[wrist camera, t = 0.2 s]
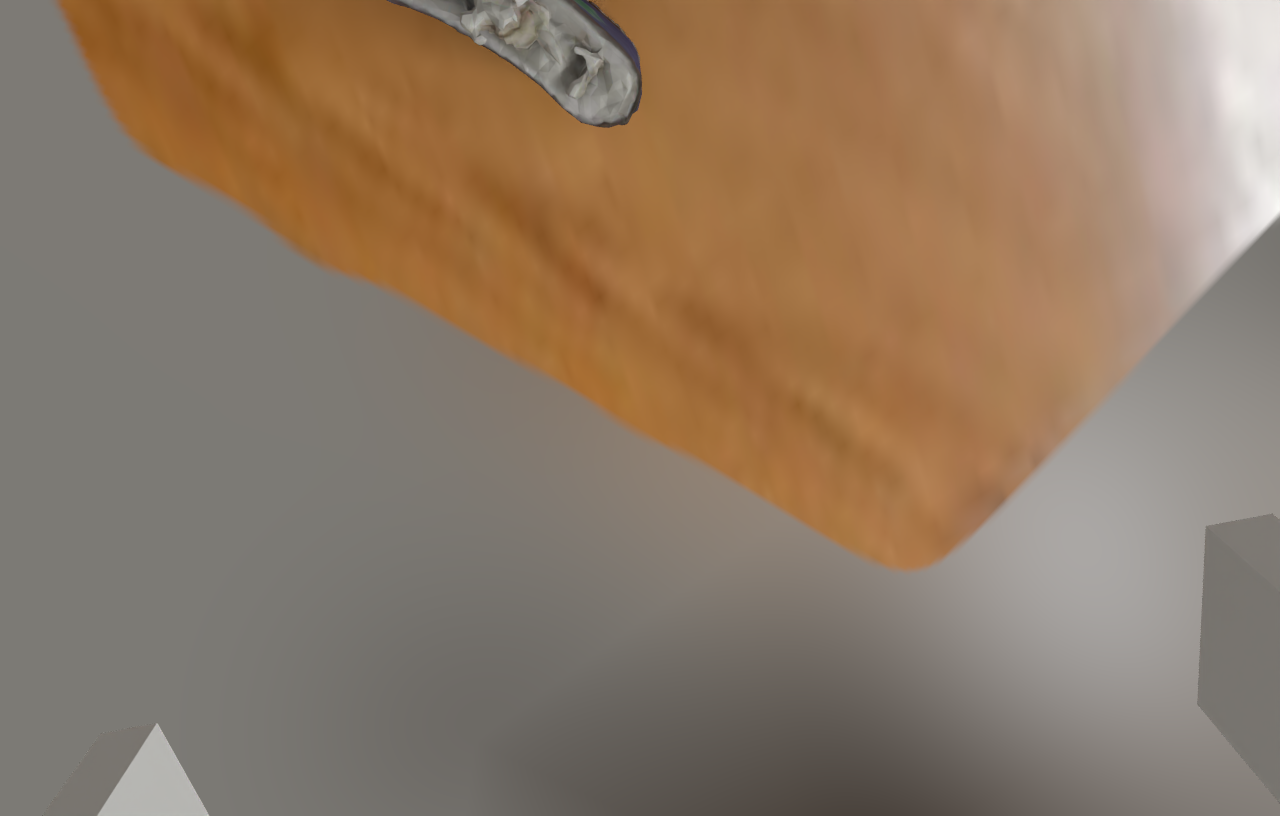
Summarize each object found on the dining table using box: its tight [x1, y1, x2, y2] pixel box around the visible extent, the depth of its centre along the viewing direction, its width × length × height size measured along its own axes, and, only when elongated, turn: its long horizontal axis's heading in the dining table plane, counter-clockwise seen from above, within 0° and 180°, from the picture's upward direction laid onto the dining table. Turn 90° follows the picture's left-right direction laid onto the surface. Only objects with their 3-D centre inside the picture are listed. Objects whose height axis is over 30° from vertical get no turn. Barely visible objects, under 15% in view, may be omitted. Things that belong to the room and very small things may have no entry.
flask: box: [387, 0, 642, 128], centre depth 29 cm, size 9×3×11 cm, turn 59°
